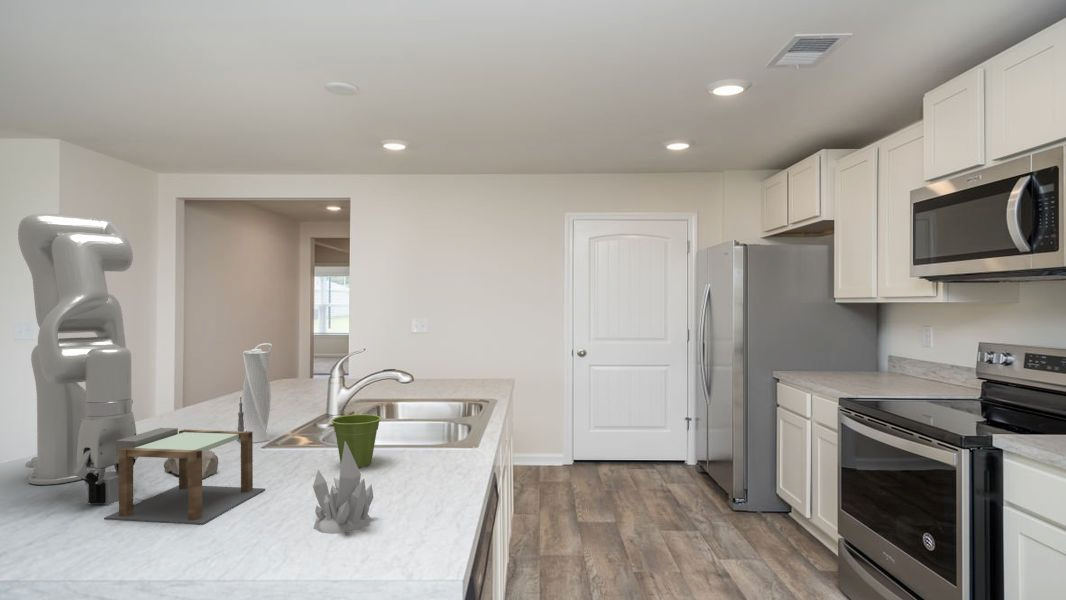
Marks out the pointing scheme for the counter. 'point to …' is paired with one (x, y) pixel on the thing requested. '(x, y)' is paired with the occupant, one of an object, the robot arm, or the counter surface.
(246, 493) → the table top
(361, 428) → the plant pot
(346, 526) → the crystal
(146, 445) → the trapdoor
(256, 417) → the skyscraper
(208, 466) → the concrete fragment
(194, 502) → the frame
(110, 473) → the stone block
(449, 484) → the counter surface
